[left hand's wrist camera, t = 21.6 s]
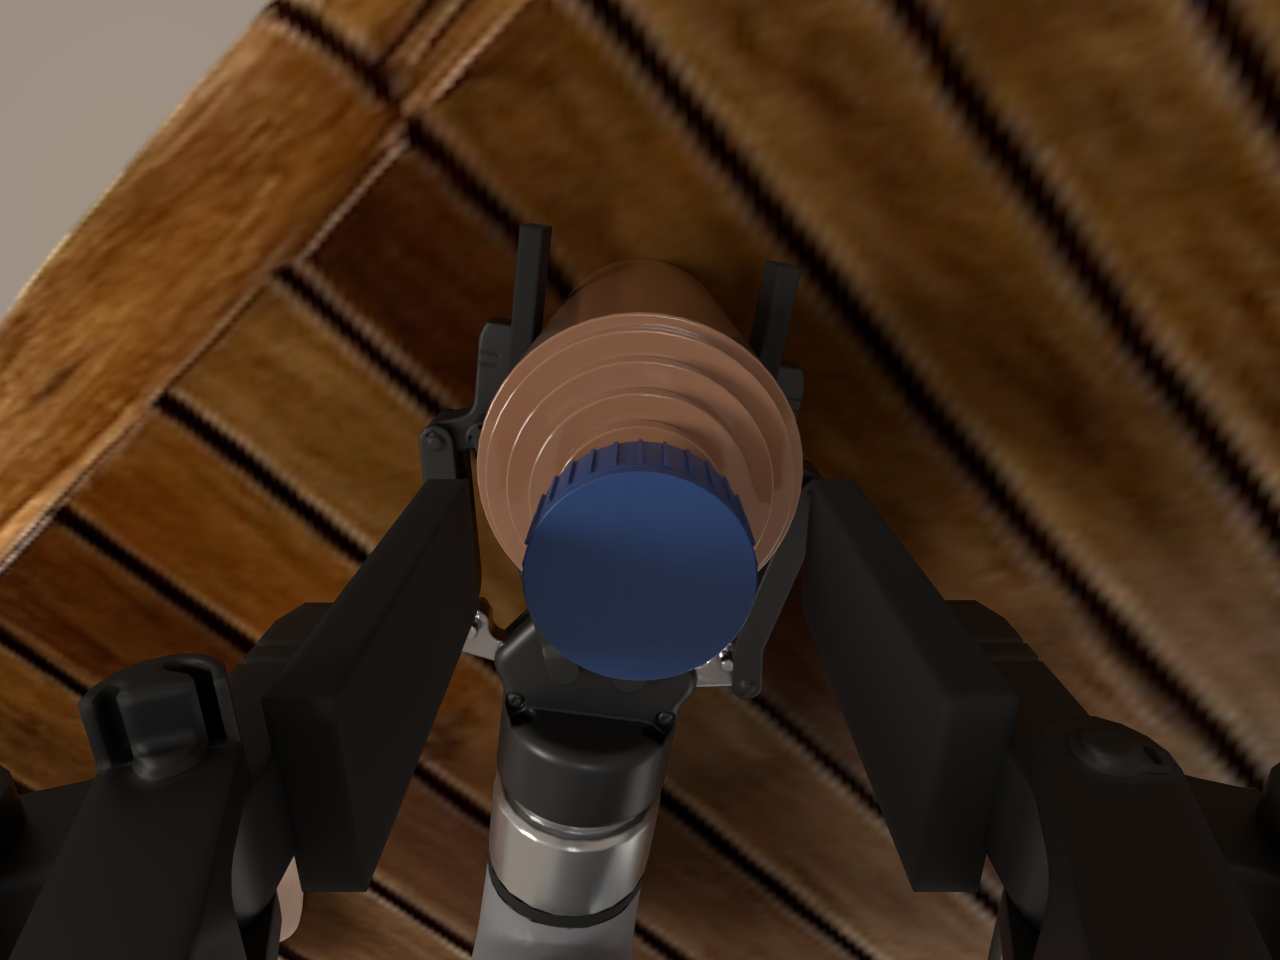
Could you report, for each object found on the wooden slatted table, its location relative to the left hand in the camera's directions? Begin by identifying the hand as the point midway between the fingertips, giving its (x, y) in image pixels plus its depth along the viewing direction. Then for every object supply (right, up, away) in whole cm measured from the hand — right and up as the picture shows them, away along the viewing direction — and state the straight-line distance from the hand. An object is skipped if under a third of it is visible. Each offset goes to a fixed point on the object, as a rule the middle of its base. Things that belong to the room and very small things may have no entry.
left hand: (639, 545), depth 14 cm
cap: (0, 0, -1) cm, 1 cm away
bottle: (0, +7, +19) cm, 20 cm away
